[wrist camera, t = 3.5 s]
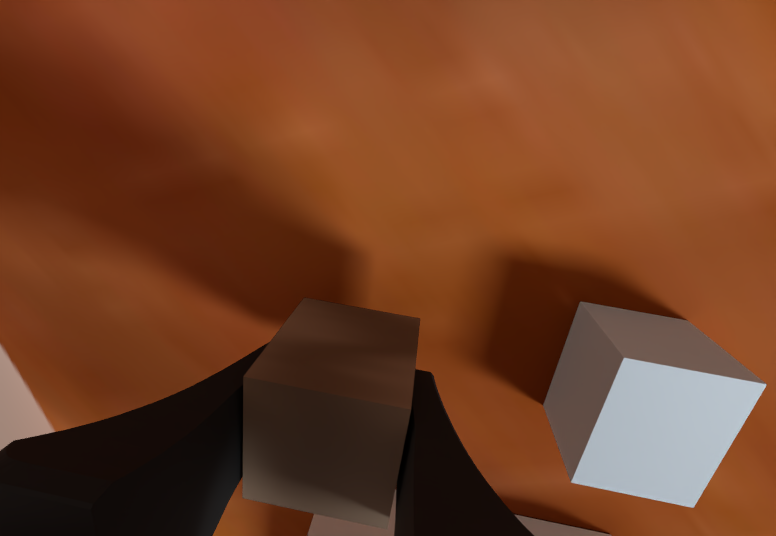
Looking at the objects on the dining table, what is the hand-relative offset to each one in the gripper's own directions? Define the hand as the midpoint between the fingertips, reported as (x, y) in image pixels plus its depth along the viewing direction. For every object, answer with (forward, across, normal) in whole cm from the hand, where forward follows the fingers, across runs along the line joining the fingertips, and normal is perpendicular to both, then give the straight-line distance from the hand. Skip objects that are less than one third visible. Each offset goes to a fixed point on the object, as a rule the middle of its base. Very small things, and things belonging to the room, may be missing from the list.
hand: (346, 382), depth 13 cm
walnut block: (+1, 0, 0) cm, 1 cm away
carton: (+4, -10, 0) cm, 11 cm away
